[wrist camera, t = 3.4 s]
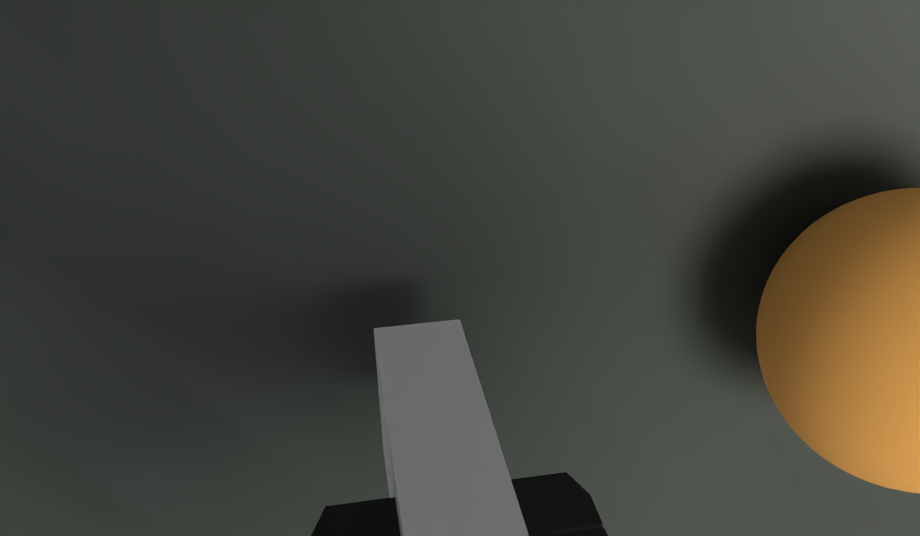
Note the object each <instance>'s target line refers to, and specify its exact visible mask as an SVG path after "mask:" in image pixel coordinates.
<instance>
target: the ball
mask: <svg viewBox="0 0 920 536" xmlns="http://www.w3.org/2000/svg"><path fill="white" fill-rule="evenodd" d="M756 344H757V355H758V359H759V364H760V368H761V372H762V376H763V380H764V382H765V384H766V386H767V389H768V391H769V393H770V395H771V398H772V400H773V402H774V404H775V406H776V407H777V409H778V410H779V412H780V413H781V415H782V416H783V417H784V419H785V420H786V422H787V423H788V425H789V426H790V427H791V429H792V430H793V431H794V432H795V433H796V434H797V435H798V436H799V437H800V438H801V439H802V440H803V441H804V442H805V443H806V444H807V445H808V446H809V447H810V448H811V449H813V450H814V451H815V452H816V453H818V454H819V455H820V456H822V457H823V458H824V459H826V460H827V461H829V462H830V463H832V464H833V465H835V466H836V467H838V468H840V469H842V470H844V471H846V472H847V473H849V474H851V475H854V476H856V477H858V478H860V479H863V480H865V481H868V482H871V483H874V484H876V485H879V486H883V487H887V488H890V489H895V490H900V491H906V492H912V493H920V188H904V189H895V190H889V191H883V192H879V193H875V194H872V195H869V196H865V197H862V198H859V199H856V200H854V201H851V202H849V203H847V204H844V205H842V206H840V207H838V208H836V209H834V210H832V211H831V212H829V213H827V214H826V215H824V216H823V217H821V218H820V219H818V220H817V221H815V222H814V223H813V224H811V225H810V226H809V227H808V228H807V229H806V230H804V231H803V232H802V233H801V234H800V235H799V236H798V237H797V238H796V239H795V240H794V241H793V242H792V243H791V244H790V246H789V247H788V248H787V249H786V251H785V252H784V253H783V254H782V256H781V257H780V259H779V260H778V262H777V263H776V265H775V267H774V268H773V270H772V272H771V274H770V276H769V278H768V280H767V282H766V285H765V288H764V291H763V294H762V297H761V301H760V305H759V310H758V315H757V325H756Z"/></svg>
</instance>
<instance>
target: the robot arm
mask: <svg viewBox="0 0 920 536" xmlns="http://www.w3.org/2000/svg"><path fill="white" fill-rule="evenodd" d="M374 340H375V353H376V365H377V377H378V390H379V402H380V414H381V426H382V439H383V451H384V459H385V467H386V474H387V482H388V489H389V497H390V498H385V499H378V500H370V501H363V502H355V503H348V504H340V505H332V506H326V507H325V509H324V511H323V513H322V515H321V517H320V519H319V521H318V523H317V525H316V527H315V529H314V531H313V533H312V535H311V536H608V535H607V533H606V531H605V529H603V526H602V521H601V519H600V517H599V514H598V512H597V510H596V507H595V505H594V503H593V500H592V498H591V496H590V494H589V493H588V492H587V491H585V490H584V489H583V488H582V487H581V486H580V485H579V484H578V483H577V482H576V481H575V480H574V479H573V478H572V477H571V476H570V475H568V474H567V473H566V472H565V473H557V474H550V475H542V476H534V477H527V478H519V479H512V480H511V478H510V475H509V472H508V469H507V466H506V462H505V459H504V456H503V453H502V450H501V447H500V444H499V441H498V437H497V434H496V431H495V428H494V425H493V422H492V419H491V415H490V412H489V409H488V406H487V403H486V400H485V397H484V394H483V390H482V387H481V384H480V381H479V378H478V375H477V372H476V368H475V365H474V362H473V359H472V356H471V353H470V350H469V347H468V343H467V340H466V337H465V334H464V331H463V328H462V325H461V321H460V319H457V320H448V321H438V322H429V323H419V324H410V325H400V326H391V327H381V328H374Z"/></svg>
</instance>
